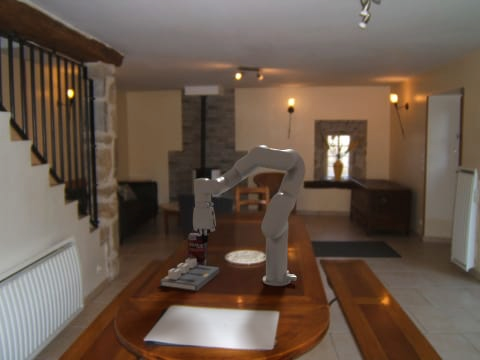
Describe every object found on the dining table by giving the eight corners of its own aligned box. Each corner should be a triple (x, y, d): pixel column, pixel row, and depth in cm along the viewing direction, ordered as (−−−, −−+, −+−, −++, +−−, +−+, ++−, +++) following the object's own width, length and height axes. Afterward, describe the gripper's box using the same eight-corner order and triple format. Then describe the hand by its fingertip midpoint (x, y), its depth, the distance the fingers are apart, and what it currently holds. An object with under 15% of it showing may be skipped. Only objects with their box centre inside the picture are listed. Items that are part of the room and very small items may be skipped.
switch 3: (196, 265, 200) (196, 257, 199) (192, 268, 196) (192, 260, 196) (189, 264, 201) (189, 257, 201) (185, 267, 198) (185, 259, 197)
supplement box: (188, 265, 209) (187, 235, 207) (191, 262, 213) (190, 232, 211) (204, 266, 207) (204, 235, 205) (207, 263, 212) (206, 233, 210)
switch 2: (189, 270, 193) (188, 263, 192) (185, 273, 189) (184, 265, 188) (181, 269, 194) (181, 262, 193) (177, 272, 190) (177, 264, 190)
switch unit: (219, 272, 198) (219, 267, 198) (196, 291, 176) (196, 285, 176) (186, 268, 205) (185, 263, 204) (160, 285, 182) (160, 280, 182)
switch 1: (180, 276, 185) (180, 268, 185) (176, 279, 181) (176, 271, 181) (173, 275, 186) (172, 267, 186) (168, 278, 183) (168, 270, 182)
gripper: (221, 203, 193) (222, 241, 195) (192, 202, 199) (194, 240, 201) (214, 206, 186) (216, 246, 189) (185, 205, 192) (187, 244, 194)
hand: (204, 242), depth 195 cm, fingers closed
